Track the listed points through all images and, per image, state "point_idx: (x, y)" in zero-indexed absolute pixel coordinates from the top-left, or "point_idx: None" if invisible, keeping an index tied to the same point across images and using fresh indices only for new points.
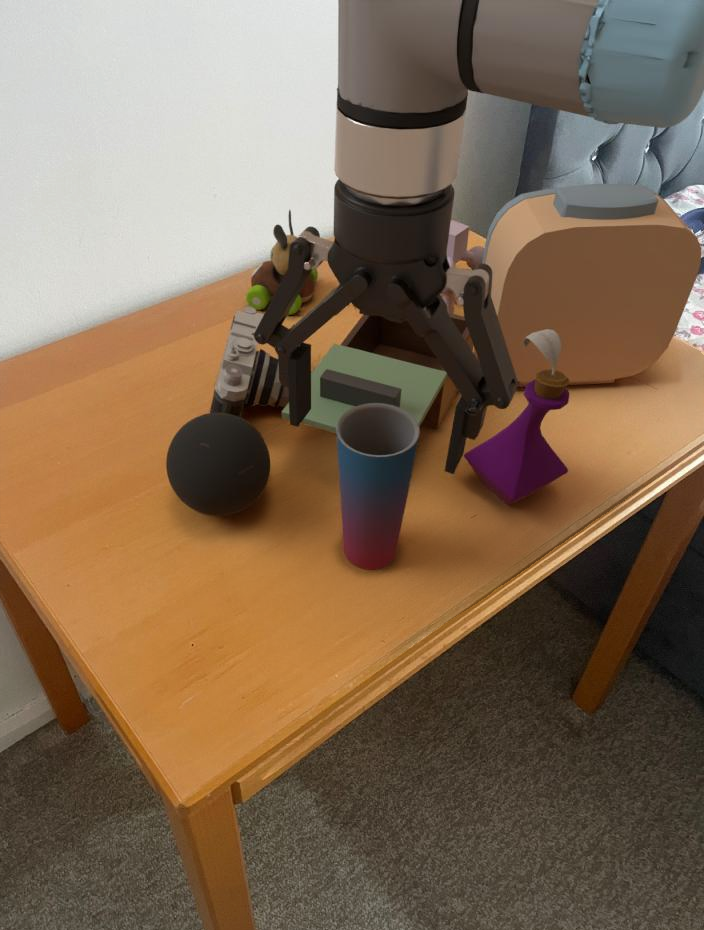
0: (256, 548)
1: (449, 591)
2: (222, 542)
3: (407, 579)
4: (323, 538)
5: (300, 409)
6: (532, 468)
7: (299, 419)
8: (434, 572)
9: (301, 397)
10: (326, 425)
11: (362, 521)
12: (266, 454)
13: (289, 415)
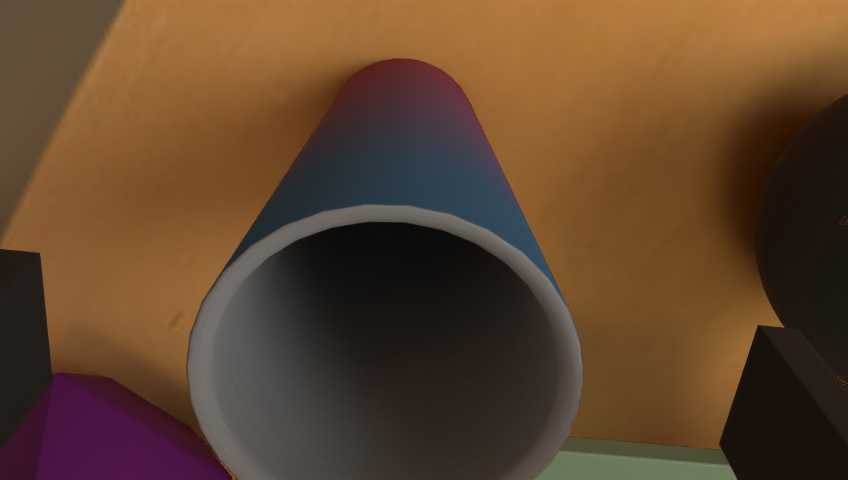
0: (719, 36)
1: (150, 54)
2: (825, 27)
3: (271, 60)
4: (538, 131)
5: (780, 399)
6: (17, 474)
7: (764, 358)
8: (210, 107)
9: (803, 453)
10: (630, 455)
11: (402, 100)
12: (798, 299)
13: (822, 360)
